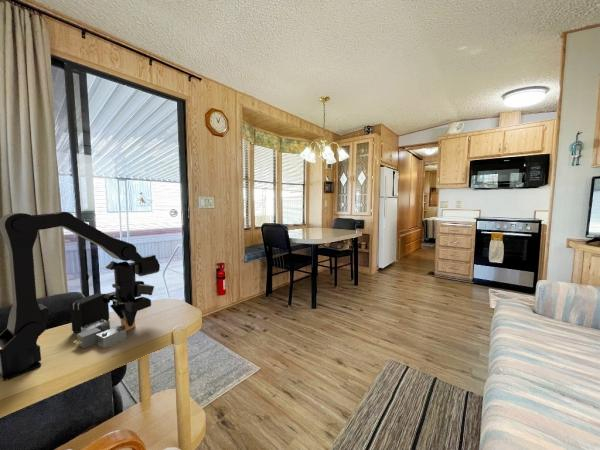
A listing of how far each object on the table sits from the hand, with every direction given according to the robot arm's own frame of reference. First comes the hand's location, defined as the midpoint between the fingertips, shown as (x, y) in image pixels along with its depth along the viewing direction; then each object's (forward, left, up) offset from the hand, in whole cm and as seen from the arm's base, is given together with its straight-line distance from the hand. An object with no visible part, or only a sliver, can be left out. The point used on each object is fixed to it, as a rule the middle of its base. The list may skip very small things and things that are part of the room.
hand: (128, 324), depth 85 cm
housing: (-7, 0, -1) cm, 7 cm away
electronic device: (-5, +13, -1) cm, 14 cm away
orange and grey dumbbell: (-6, 0, -1) cm, 6 cm away
